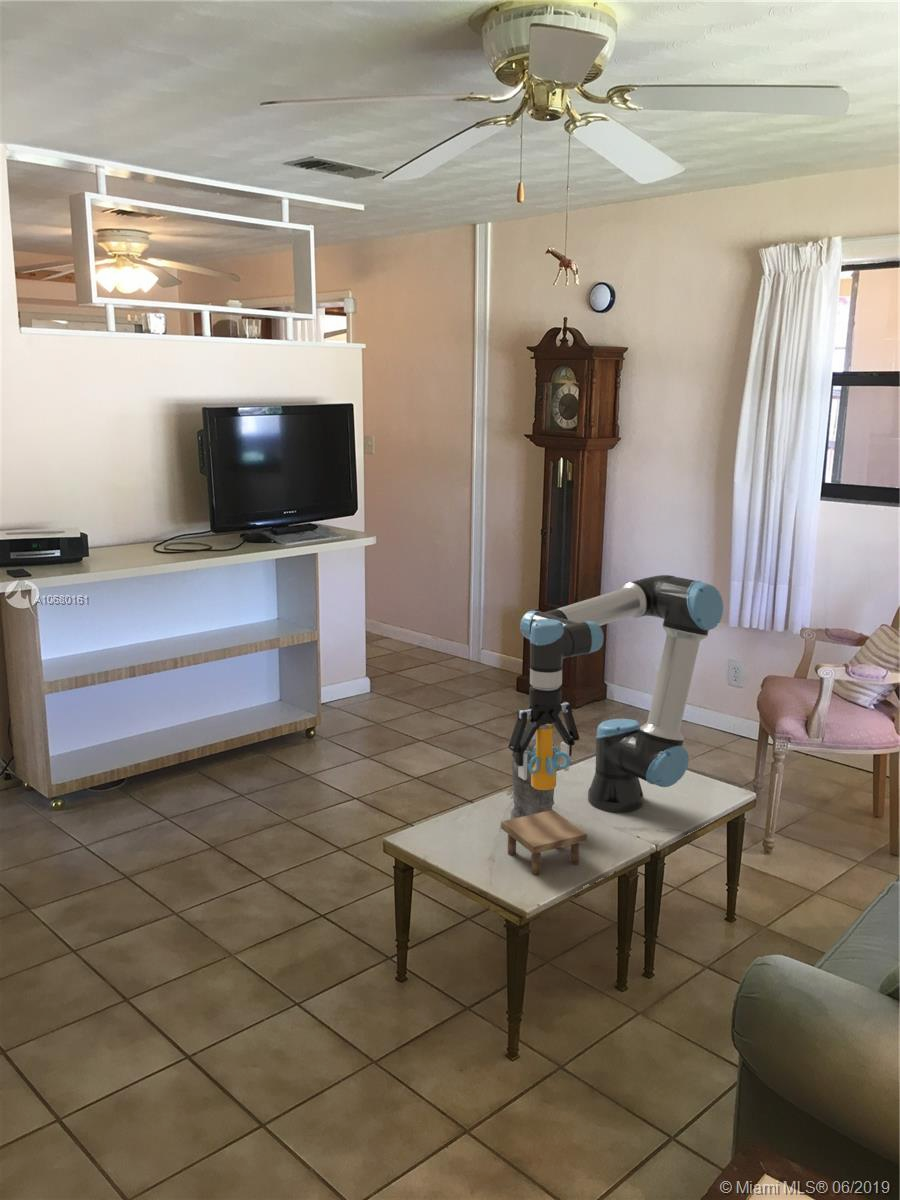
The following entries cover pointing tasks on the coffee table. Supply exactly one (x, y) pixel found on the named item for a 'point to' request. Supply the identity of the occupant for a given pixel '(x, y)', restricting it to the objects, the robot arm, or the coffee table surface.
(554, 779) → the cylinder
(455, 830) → the coffee table surface
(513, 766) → the figurine
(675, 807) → the coffee table surface
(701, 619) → the robot arm
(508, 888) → the coffee table surface
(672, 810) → the coffee table surface
